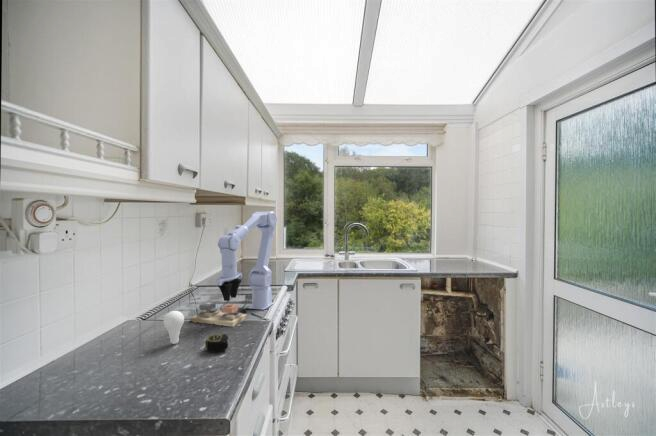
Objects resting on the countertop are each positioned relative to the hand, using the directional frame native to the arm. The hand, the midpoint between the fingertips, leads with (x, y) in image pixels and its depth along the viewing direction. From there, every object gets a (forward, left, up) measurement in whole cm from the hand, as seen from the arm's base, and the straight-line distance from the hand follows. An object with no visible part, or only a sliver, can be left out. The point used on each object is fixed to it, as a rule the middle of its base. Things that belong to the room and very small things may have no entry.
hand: (230, 299), depth 120 cm
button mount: (0, -6, -9) cm, 10 cm away
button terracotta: (0, 0, -5) cm, 5 cm away
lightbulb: (+23, -6, -9) cm, 25 cm away
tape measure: (+22, +11, -9) cm, 26 cm away
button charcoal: (0, -11, -5) cm, 12 cm away
